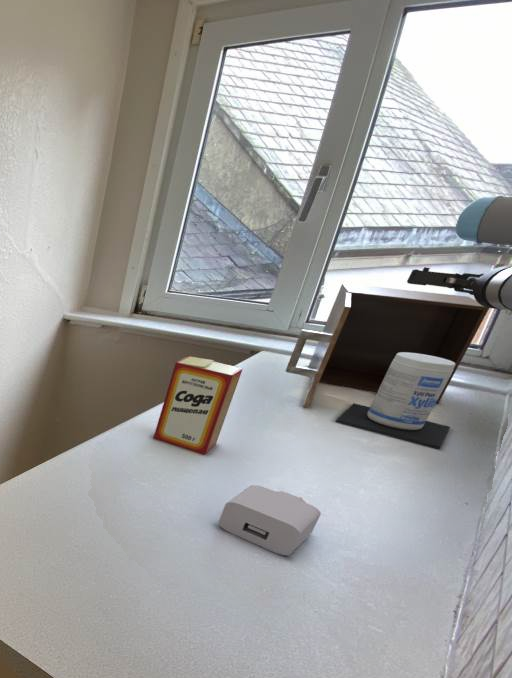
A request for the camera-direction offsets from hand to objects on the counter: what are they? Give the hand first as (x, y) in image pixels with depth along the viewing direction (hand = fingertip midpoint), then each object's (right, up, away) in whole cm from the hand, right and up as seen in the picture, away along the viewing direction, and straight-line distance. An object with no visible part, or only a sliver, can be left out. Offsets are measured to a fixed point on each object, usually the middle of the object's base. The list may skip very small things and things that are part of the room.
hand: (452, 282), depth 115 cm
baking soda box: (-61, -34, -7) cm, 70 cm away
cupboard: (+12, -17, +33) cm, 39 cm away
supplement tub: (-8, -29, +5) cm, 31 cm away
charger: (-63, -46, -34) cm, 85 cm away
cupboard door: (-15, -20, +24) cm, 35 cm away
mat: (-8, -30, +5) cm, 31 cm away
